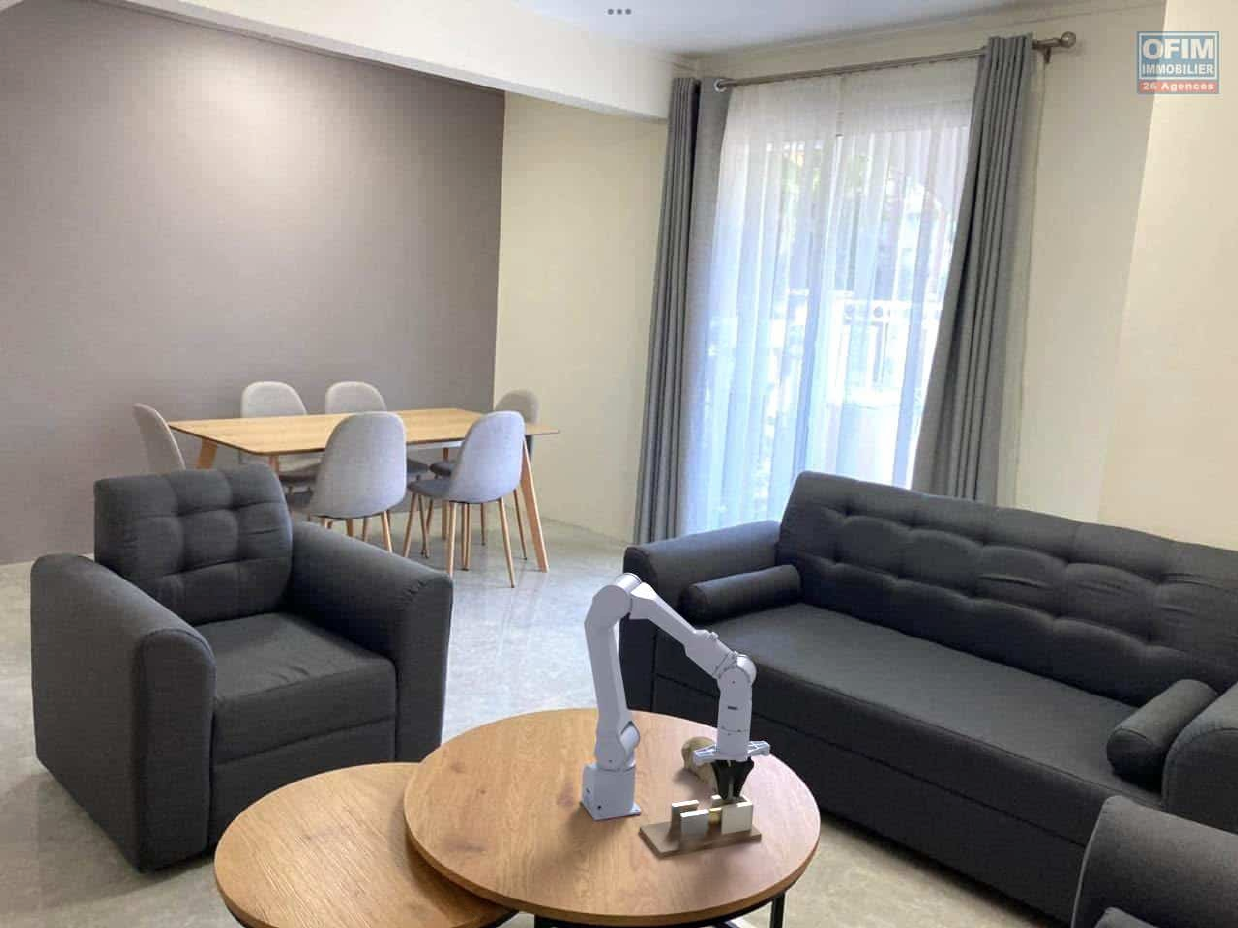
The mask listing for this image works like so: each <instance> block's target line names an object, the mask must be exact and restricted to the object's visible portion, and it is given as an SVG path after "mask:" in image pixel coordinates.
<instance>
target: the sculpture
mask: <svg viewBox="0 0 1238 928" xmlns="http://www.w3.org/2000/svg"><path fill="white" fill-rule="evenodd" d="M714 744H716V742H715V740H713V739H711V738H709V737H707V736H701V735H699V736H693V737H690V738H689V739H687V740H686V741H685V742H684V743H683V744H682V746H681V749H680V753H681V756H682V757H681V758H682V759H683V767H684V768H685V769H686V770H689V771H690V772H692V773H693V774H695V775H698V776H699V777H700V779H701V780H703V781H704V782H705V783H707V784H708V785H709V787H710V789H711V790H712V791H713V792H714V793H716V795H719V794H718V787H717V782H716V778H715V775H714V772H713V769H712V767H711V765H710V763H709V762H708V763H703V765H700V766H698V765H697V764H695V763H694V761H693V752H694V751H697V750H701V749H704V748H706V747H709V746H711V745H714ZM727 762H729V766H730V767H731V765H730V760H727ZM747 778H748V777H747ZM747 778H746V780H745V782H744V784H743V786H744V785H745V783H746V781H747Z"/></svg>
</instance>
